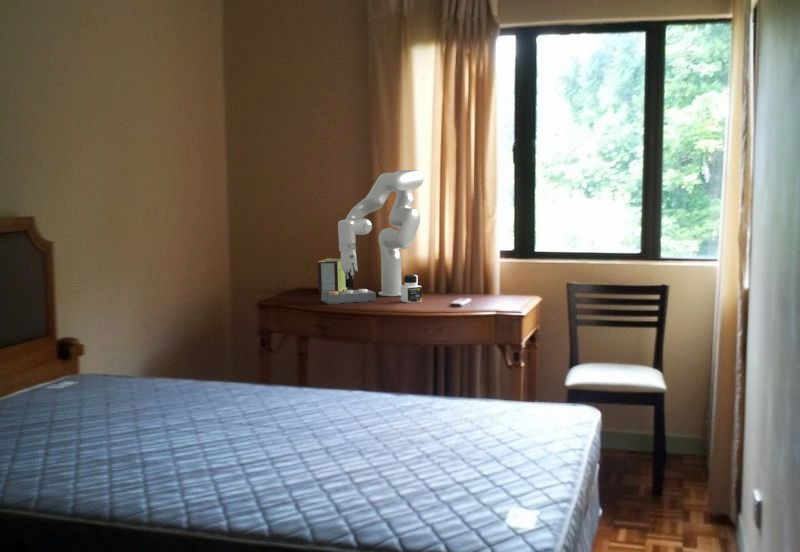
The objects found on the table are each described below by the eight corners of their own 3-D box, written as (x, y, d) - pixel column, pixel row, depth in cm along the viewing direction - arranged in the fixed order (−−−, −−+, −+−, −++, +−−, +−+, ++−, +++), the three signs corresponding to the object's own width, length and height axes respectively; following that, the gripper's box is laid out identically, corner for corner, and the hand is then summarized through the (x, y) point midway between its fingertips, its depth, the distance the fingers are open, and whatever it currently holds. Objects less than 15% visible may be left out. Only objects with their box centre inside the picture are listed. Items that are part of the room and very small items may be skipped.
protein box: (347, 289, 434) (346, 258, 432) (338, 293, 419) (337, 261, 417) (327, 289, 437) (326, 258, 435) (317, 293, 422) (316, 261, 420)
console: (366, 297, 403) (366, 289, 402) (375, 301, 392) (375, 292, 391) (321, 301, 395) (321, 292, 394) (329, 304, 384) (329, 295, 383)
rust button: (336, 297, 393) (336, 290, 393) (339, 298, 389) (339, 291, 389) (327, 298, 392) (327, 291, 391) (330, 299, 388) (330, 292, 387)
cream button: (365, 295, 398) (365, 288, 398) (369, 296, 394) (369, 289, 394) (356, 296, 397) (356, 289, 396) (360, 297, 393) (359, 290, 392)
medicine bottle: (408, 303, 385) (407, 276, 383) (400, 301, 391) (400, 274, 390) (422, 301, 388) (421, 275, 387) (414, 299, 394) (414, 273, 393)
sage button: (351, 296, 396) (351, 289, 395) (354, 297, 392) (354, 290, 391) (342, 297, 394) (342, 290, 394) (345, 298, 390) (345, 291, 390)
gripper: (361, 248, 385) (362, 288, 388) (350, 245, 399) (352, 284, 402) (344, 249, 382) (347, 290, 385) (334, 246, 396) (336, 286, 399)
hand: (349, 287), depth 393 cm, fingers closed
